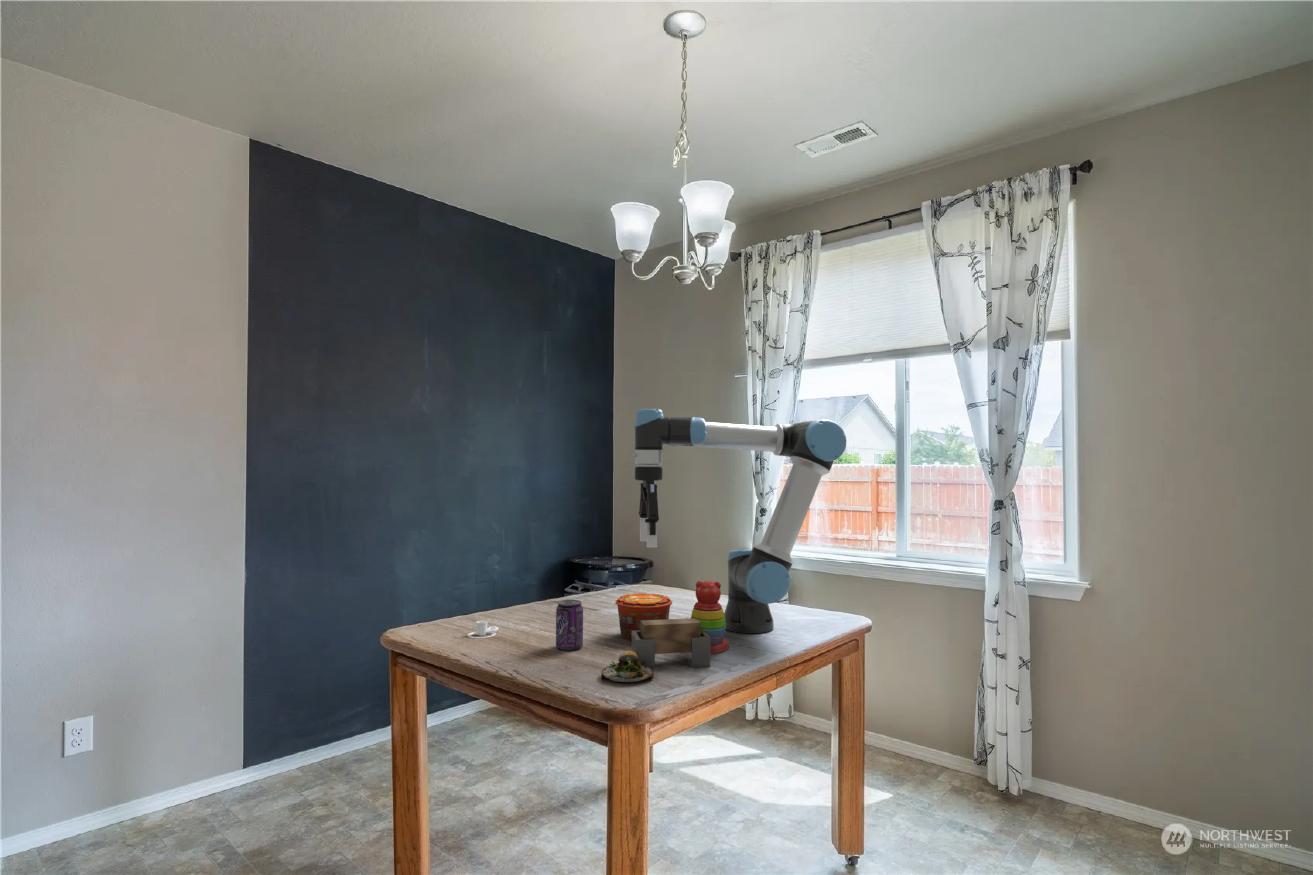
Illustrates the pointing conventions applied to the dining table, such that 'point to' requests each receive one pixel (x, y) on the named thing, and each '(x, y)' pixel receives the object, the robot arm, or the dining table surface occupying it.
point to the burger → (627, 669)
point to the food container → (640, 611)
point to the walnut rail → (671, 634)
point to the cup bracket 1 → (644, 649)
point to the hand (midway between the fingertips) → (648, 544)
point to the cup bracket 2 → (699, 651)
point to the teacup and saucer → (483, 630)
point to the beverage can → (569, 624)
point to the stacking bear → (711, 614)
